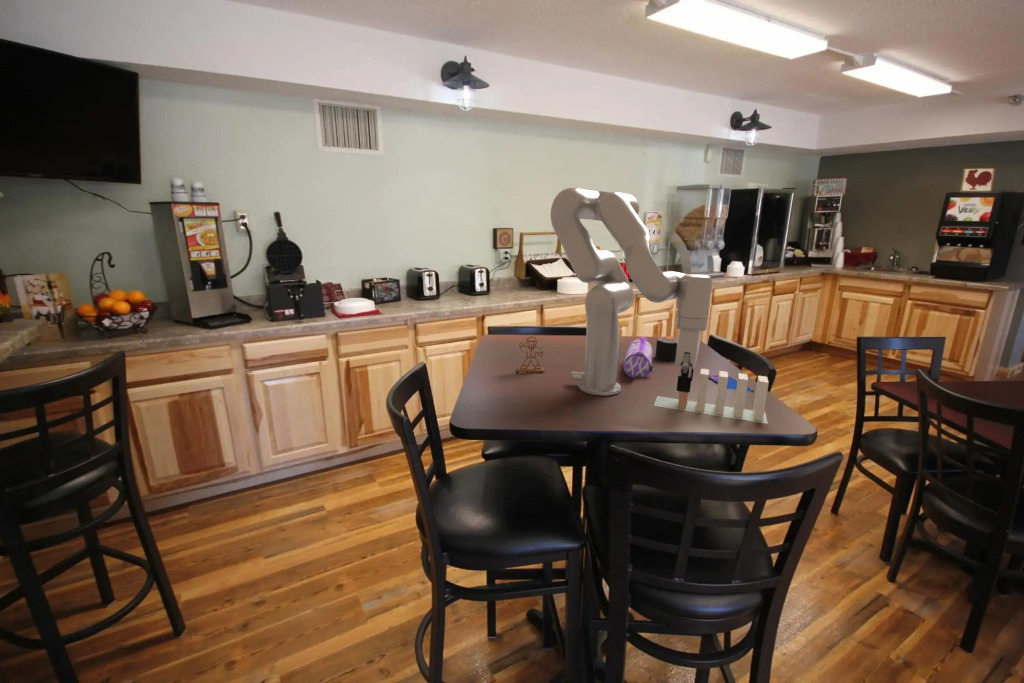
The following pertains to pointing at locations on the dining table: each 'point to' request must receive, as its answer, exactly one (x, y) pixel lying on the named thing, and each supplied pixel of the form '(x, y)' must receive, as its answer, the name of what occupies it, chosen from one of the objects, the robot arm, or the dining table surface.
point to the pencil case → (638, 358)
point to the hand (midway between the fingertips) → (684, 385)
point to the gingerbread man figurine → (535, 368)
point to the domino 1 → (682, 400)
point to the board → (706, 409)
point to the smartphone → (731, 382)
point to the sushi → (666, 348)
